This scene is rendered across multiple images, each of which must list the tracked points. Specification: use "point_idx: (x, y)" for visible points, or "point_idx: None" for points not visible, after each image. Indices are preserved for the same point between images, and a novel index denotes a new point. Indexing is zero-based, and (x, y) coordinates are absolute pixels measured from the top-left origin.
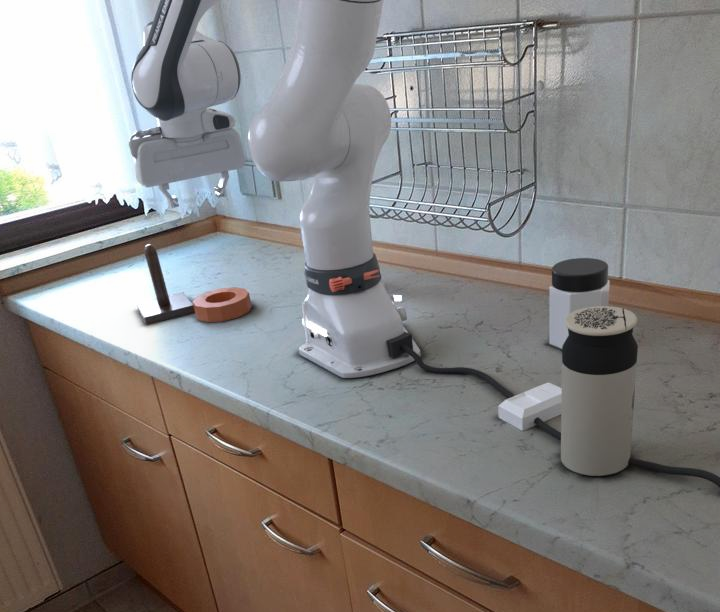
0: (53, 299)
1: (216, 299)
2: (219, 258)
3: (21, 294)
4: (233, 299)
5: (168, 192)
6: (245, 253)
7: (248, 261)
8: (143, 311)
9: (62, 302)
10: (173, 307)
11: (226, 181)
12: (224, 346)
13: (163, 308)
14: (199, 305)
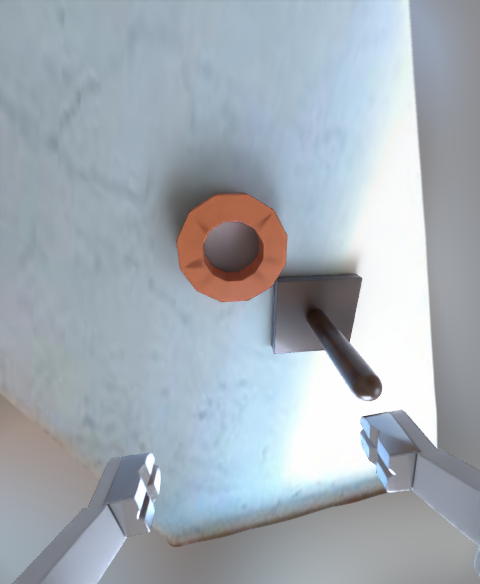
0: None
1: (237, 276)
2: (189, 467)
3: None
4: (213, 219)
5: (476, 490)
6: None
7: (151, 438)
8: (353, 306)
9: None
10: (308, 293)
11: (50, 548)
12: (278, 26)
13: (323, 299)
14: (280, 233)
